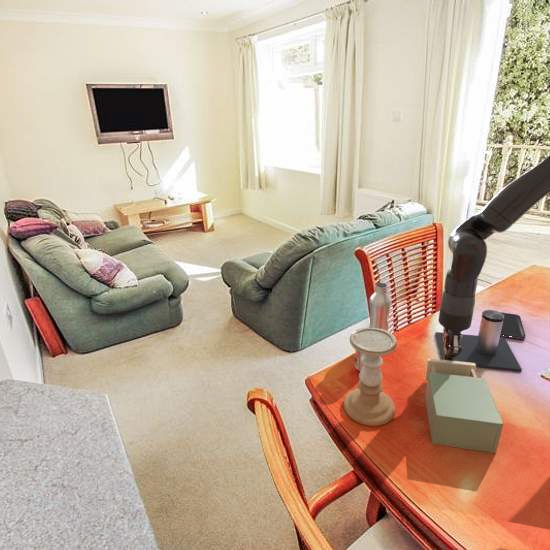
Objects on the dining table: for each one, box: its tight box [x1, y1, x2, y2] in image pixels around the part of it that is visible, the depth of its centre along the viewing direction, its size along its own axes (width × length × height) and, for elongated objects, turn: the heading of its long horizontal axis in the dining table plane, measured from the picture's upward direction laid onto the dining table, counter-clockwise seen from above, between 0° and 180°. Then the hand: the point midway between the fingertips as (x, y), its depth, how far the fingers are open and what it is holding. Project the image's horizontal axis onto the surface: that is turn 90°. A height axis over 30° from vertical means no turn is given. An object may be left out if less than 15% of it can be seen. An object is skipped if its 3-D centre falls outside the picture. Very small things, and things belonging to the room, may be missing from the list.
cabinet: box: [424, 372, 504, 454], centre depth 85 cm, size 15×13×8 cm
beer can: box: [354, 349, 364, 372], centre depth 105 cm, size 5×5×12 cm
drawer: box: [424, 357, 478, 381], centre depth 93 cm, size 15×11×6 cm
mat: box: [434, 331, 523, 373], centre depth 112 cm, size 20×16×1 cm
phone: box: [499, 311, 526, 340], centre depth 123 cm, size 8×1×15 cm
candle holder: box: [343, 327, 398, 427], centre depth 89 cm, size 12×12×20 cm
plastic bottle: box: [368, 282, 392, 332], centre depth 115 cm, size 6×7×20 cm
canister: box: [476, 309, 504, 355], centre depth 108 cm, size 6×6×12 cm
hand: (447, 364), depth 100 cm, fingers closed
